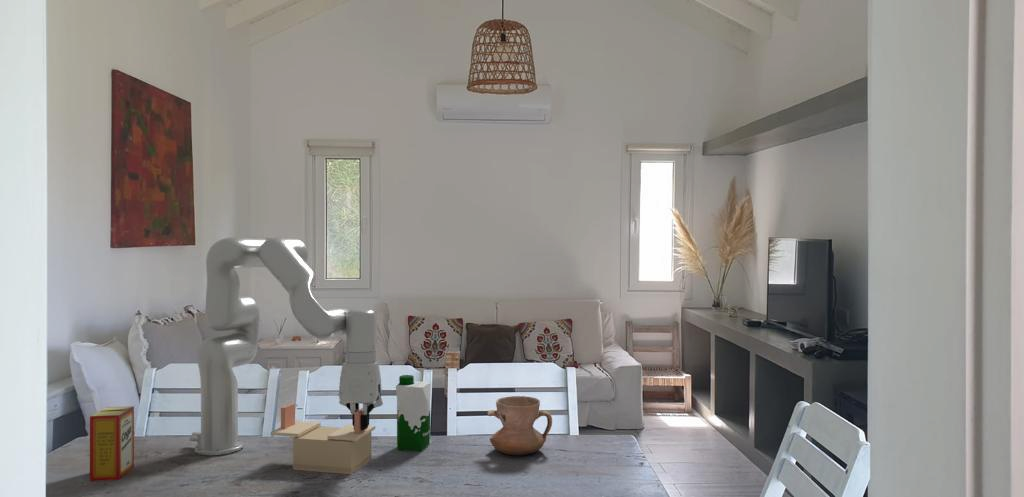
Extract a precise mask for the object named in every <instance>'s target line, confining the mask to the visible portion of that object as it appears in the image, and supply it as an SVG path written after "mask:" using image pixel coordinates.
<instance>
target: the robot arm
mask: <svg viewBox="0 0 1024 497" xmlns="http://www.w3.org/2000/svg"><path fill="white" fill-rule="evenodd" d="M308 256H309V251H308V247H307V246H306V244H305V243H304V242H303V241H301V239H298V238H295V237H250V236H248V237H247V236H244V237H243V236H232V237H225V238H222V239H220V240H218V241H216V242H214V243H213V244H212V245H211V246H210V248H209V249H208V251H207V254H206V259H205V268H206V290H205V291H206V293H205V308H204V309H205V310H204V321H205V324H206V326H207V328H208V329H209V330H211V331H215V332H226V331H229V333H227V334H226V333H225V334H220V335H216V336H215V335H214V336H211V337H209V338H206V339H205V340H203V341H202V342H200V344H199V345H198V348H197V352H196V361H197V366H198V371H199V378H200V379H199V380H200V381H199V382H200V432H198V431H197V432H196V431H194V432H192V433H191V436H189V441H190V442H196V444H197V445H196V446H195V447H194V453H195V452H196V453H195V454H198V455H200V454H201V456H221V455H222V454H223V455H228V454H232V452H233V453H235V451H236V452H238V451H240V450H242V449H243V448H244V447H243V446H245V444H244V441H243V440H241V439H239V436H238V435H239V413H238V412H239V410H238V408H239V402H238V400H239V394H238V393H239V387H238V386H239V385H238V380H237V377H236V375H235V373H234V371H233V370H234V369H233V368H236V367H240V366H241V367H242V366H243V365H248V364H249V363H251V362H252V361H253V360H254V359H255V358H256V356H257V352H258V349H259V348H258V347H259V335H260V334H259V333H260V332H259V331H260V316H261V315H260V313H261V312H260V307H259V306H258V304H257V302H256V300H255V299H254V298H253V297H252V296H249V295H245V294H240V291H241V290H240V289H241V282H240V277H239V275H238V273H237V271H236V269H241V268H242V269H245V268H266V269H267V270H268V271H269V272H270V274H271V275H272V276H273V277H274V278H275V279H276V281H277V282H278V283H279V285H281V286H282V287H283V288H284V290H285V291H286V292H287V293H288V296H289V297H288V298H289V305H290V308H291V312H292V315H293V316H294V318H295V319H296V320H297V321H298V323H299V324H300V325H301V326H302V328H304V330H305V331H306V332H307V333H308V334H309V335H311V336H312V337H313V338H316V339H317V340H328V339H331V338H335V337H336V338H338V337H342V336H345V343H346V344H345V351H344V352H341V358H344V360H345V362H342V365H341V370H340V376H339V378H340V379H339V384H338V385H339V387H338V388H339V389H338V397H339V398H338V399H339V401H338V403H339V404H340V405H342V406H344V407H346V408H347V409H348V410H349V411H350V414H351V415H352V424H353V426H354V412H356V411H358V410H359V409H360V404H362V408H363V412H362V415H361V430H365V429H367V428H368V426H370V413H371V412H372V411H373V410H374V409H377V408H379V407H382V406H383V405H384V404H383V399H382V378H381V371H380V370H381V369H380V364H379V362H378V361H377V315H376V312H375V310H373V309H369V308H366V309H364V308H360V309H359V308H357V309H354V308H349V307H343V306H341V307H332V308H324V307H322V306H321V304H320V303H319V302H318V301H317V300H316V299H315V298H314V296H313V294H312V292H311V287H312V286H313V285H314V284H315V281H316V273H315V272H314V270H312V268H311V267H310V266H309V265H308V264H307V263H306V262H307V261H308ZM241 448H242V449H241Z"/></svg>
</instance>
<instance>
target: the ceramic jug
mask: <svg viewBox="0 0 1024 497" xmlns="http://www.w3.org/2000/svg"><path fill="white" fill-rule="evenodd" d="M540 403H541V400H540V399H538V398H537V397H532V396H524V395H522V396H521V395H513V396H504V397H500V398H498V399H496V401H495V405H496V410H494V409H492V410H491V409H490V410H489V411H487V415H488V416H489V417H492V416H494V417H495V418H497V419H499V421H500V422H501V425H502V427H501V428H500V429H498V430H497V431H496V432H495V433H494V434H493V435H492V436H490V438H489V443H491V445H492V446H493V449H495V450H497V451H498V452H500V453H502V454H505V455H510V456H511V455H512V456H525V455H528V454H529V455H530V454H533V453H535V452H537V451H539V450H540V449H542V448H543V446H544V445H545V442H546V440H547V436H548V434H549V433H550V431H551V429H552V426H553V417H552V414H551V413H550V412H549V411H547V410H542V411H540V407H541V405H540ZM541 417H546V421H547V423H546V427H545V429H544V432H543V433H541V432H540V431H538V430H537V429H536V428H535V427H534V424H535V422H536V420H538V419H539V418H541Z"/></svg>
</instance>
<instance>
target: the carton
mask: <svg viewBox="0 0 1024 497" xmlns="http://www.w3.org/2000/svg"><path fill="white" fill-rule="evenodd" d="M340 428H341V427H338V426H321V425H320V426H319V427H317V428H315V429H313V430H311V431H309V432H307V433H305V434H303V435H301V436H299V437H293V438H292V445H293V446H292V455H293V456H292V461H293V462H292V470H295V471H306V472H307V471H308V472H319V473H320V472H321V473H331V474H334V473H335V474H343V475H344V474H346V475H353V473H355V472H357V471H358V470H359V469H361V468H362V467H364V465H366V464H367V463H369V462H370V461H371V460H372V456H373V455H372V431H371V432H370V433H368V434H366V435H365V436H363V437H362V438H360V439H359V440H357V441H349V440H334V439H327V436H328V435H330V434H332V433H333V432H335V431H337V430H339V429H340Z"/></svg>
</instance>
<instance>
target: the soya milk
mask: <svg viewBox="0 0 1024 497" xmlns="http://www.w3.org/2000/svg"><path fill="white" fill-rule="evenodd" d="M398 379H399V380H398V382H399V383H398V384H397V385H395V391H396V392H395V394H396V450H397V451H405V450H410V451H409V452H423V451H424V450H425V449H426V448H427V447H428V446H430V440H431V439H430V438H431V387H432V386H431V382H430V381H422V380H421V381H419V380H418V381H416V380H414V379H415V377H414V375H412V374H411V375H410V374H403V375H399V377H398ZM427 445H428V446H427ZM426 446H427V447H426ZM425 447H426V448H425ZM424 448H425V449H424ZM423 449H424V450H423Z"/></svg>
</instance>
